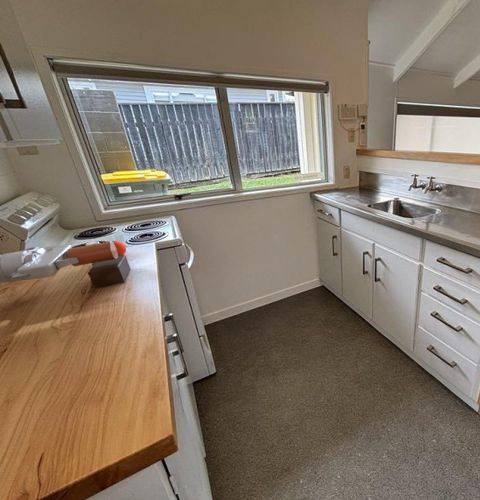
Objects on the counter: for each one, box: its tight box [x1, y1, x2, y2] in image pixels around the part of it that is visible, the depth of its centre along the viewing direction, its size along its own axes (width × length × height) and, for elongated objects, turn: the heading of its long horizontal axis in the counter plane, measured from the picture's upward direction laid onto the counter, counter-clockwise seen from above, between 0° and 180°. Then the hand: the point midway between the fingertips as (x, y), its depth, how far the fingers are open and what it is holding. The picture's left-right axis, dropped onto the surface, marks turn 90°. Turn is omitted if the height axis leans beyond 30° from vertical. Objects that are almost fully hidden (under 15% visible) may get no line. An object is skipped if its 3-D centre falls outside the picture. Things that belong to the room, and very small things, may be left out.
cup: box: [67, 241, 118, 267], centre depth 94 cm, size 11×6×6 cm, turn 118°
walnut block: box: [87, 254, 131, 290], centre depth 97 cm, size 8×12×6 cm, turn 28°
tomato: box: [110, 240, 127, 256], centre depth 115 cm, size 8×7×7 cm
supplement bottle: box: [84, 240, 101, 265], centre depth 111 cm, size 5×5×8 cm
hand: (81, 255), depth 92 cm, fingers closed on cup, 6 cm apart
